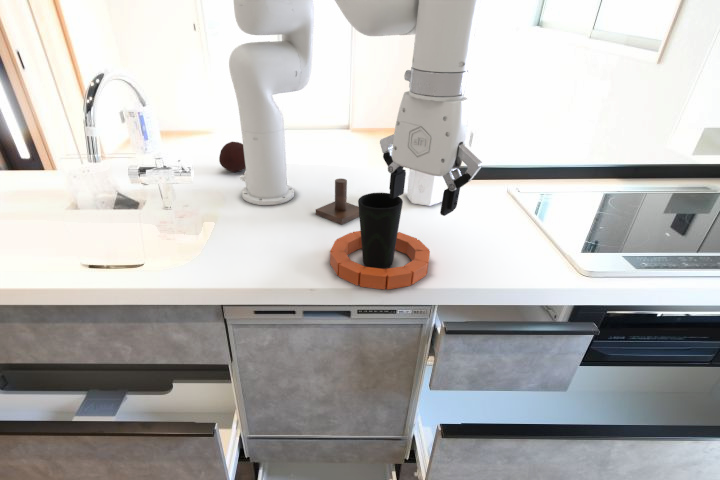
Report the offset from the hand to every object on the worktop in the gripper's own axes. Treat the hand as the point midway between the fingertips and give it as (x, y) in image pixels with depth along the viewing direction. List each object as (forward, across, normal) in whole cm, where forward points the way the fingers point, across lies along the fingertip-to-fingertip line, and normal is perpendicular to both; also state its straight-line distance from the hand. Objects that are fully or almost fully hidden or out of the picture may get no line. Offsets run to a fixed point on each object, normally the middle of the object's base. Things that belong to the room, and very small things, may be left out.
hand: (420, 204), depth 72 cm
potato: (+14, -67, +14) cm, 70 cm away
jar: (+14, -18, +33) cm, 40 cm away
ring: (+14, -7, 0) cm, 15 cm away
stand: (+14, -27, +12) cm, 33 cm away
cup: (+14, -7, 0) cm, 16 cm away
